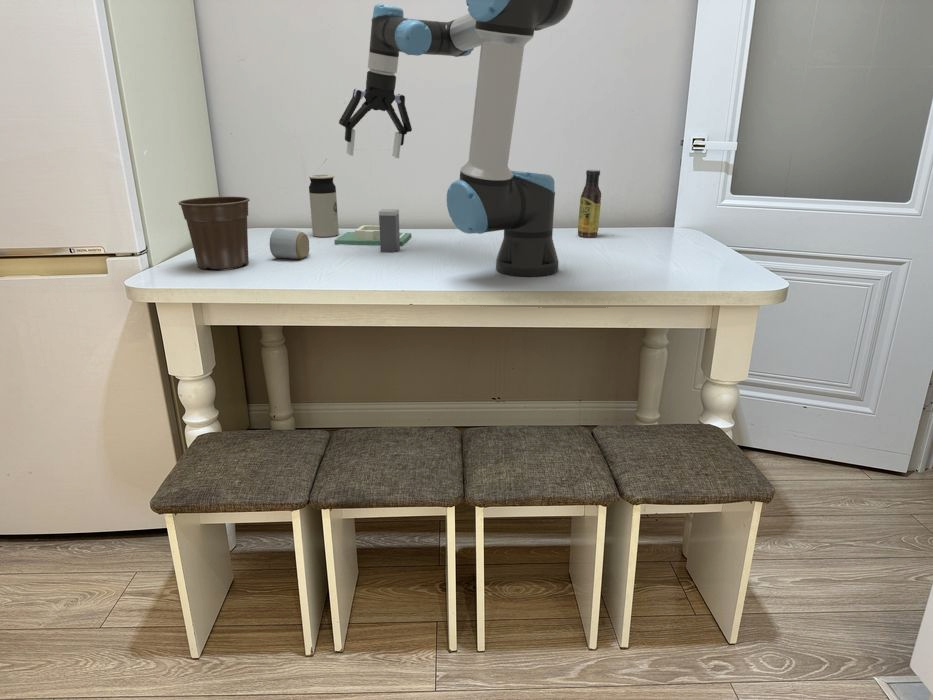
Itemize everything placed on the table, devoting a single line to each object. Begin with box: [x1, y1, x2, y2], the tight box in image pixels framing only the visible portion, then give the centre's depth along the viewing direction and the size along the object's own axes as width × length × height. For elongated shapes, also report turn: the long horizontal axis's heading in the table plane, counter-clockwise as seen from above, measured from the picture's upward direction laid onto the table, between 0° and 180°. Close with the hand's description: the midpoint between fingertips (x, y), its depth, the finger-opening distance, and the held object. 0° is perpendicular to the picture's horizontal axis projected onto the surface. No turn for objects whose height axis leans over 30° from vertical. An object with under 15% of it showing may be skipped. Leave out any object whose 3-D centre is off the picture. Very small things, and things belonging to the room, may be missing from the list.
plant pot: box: [178, 196, 251, 270], centre depth 159 cm, size 16×16×16 cm
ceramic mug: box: [269, 227, 310, 260], centre depth 170 cm, size 11×8×8 cm
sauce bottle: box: [577, 168, 602, 238], centre depth 196 cm, size 6×6×20 cm
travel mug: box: [308, 174, 340, 238], centre depth 198 cm, size 8×8×18 cm
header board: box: [333, 224, 412, 247], centre depth 192 cm, size 14×20×4 cm
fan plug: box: [378, 208, 401, 253], centre depth 177 cm, size 4×4×11 cm
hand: (373, 155), depth 176 cm, fingers open, 13 cm apart
